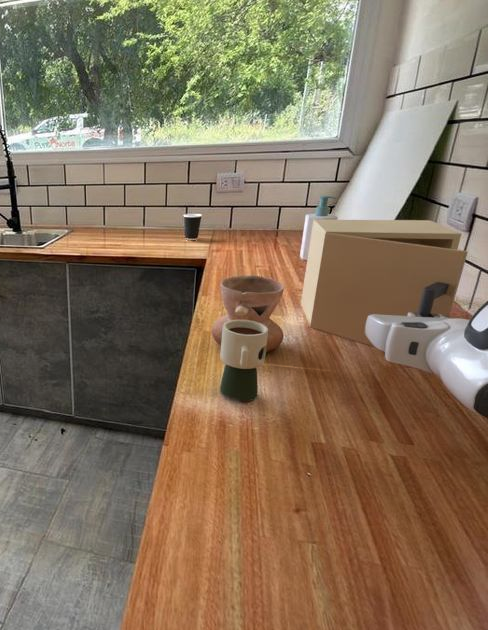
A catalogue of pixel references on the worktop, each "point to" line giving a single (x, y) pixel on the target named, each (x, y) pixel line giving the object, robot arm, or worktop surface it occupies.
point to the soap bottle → (320, 215)
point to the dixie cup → (192, 225)
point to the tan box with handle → (381, 282)
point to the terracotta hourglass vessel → (251, 305)
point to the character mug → (242, 357)
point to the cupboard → (375, 229)
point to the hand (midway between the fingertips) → (422, 317)
